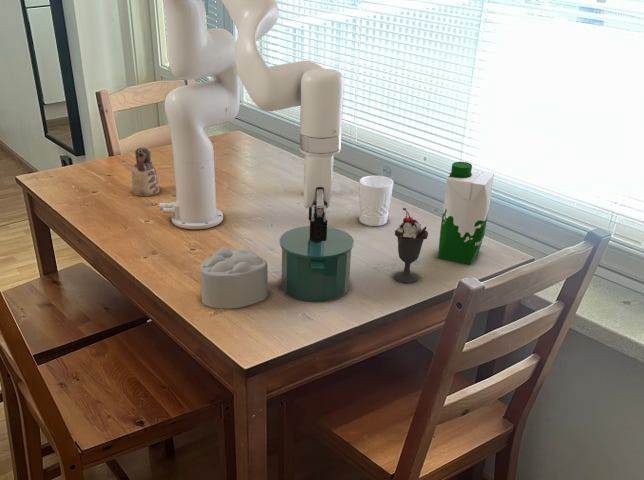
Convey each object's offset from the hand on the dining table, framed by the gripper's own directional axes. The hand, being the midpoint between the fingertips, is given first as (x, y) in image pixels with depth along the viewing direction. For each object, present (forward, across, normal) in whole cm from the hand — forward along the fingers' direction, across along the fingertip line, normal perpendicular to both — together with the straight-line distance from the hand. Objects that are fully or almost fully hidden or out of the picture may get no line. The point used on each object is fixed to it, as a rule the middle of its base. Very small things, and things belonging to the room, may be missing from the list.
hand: (317, 230), depth 141 cm
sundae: (+12, -4, +19) cm, 23 cm away
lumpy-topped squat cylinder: (+12, +4, -17) cm, 21 cm away
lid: (+3, 0, 0) cm, 3 cm away
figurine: (+12, -53, -44) cm, 70 cm away
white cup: (+12, -34, +15) cm, 39 cm away
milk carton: (+12, -15, +32) cm, 37 cm away
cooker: (+12, 0, 0) cm, 12 cm away
